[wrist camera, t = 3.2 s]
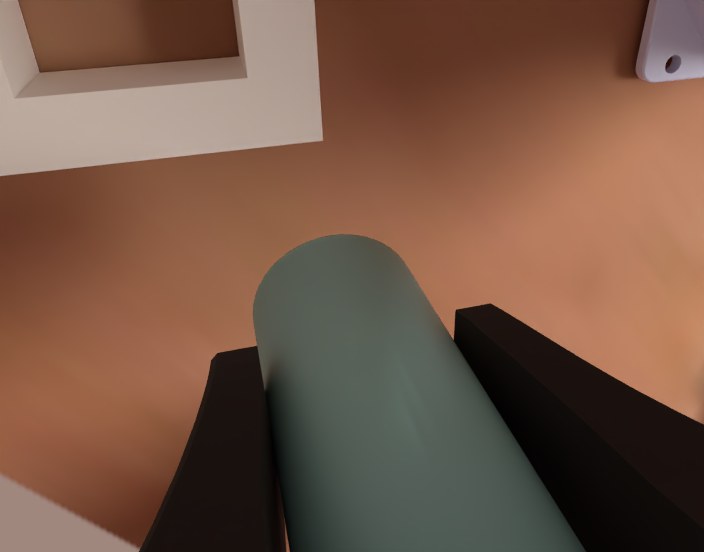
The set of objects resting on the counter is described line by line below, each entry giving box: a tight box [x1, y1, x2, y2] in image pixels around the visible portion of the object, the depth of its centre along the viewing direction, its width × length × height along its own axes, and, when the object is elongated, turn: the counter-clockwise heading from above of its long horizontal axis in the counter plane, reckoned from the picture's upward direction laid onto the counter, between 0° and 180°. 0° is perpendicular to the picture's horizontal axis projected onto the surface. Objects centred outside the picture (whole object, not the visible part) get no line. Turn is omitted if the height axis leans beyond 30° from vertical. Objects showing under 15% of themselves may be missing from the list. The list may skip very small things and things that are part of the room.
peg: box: [253, 234, 586, 552], centre depth 8 cm, size 3×3×7 cm
